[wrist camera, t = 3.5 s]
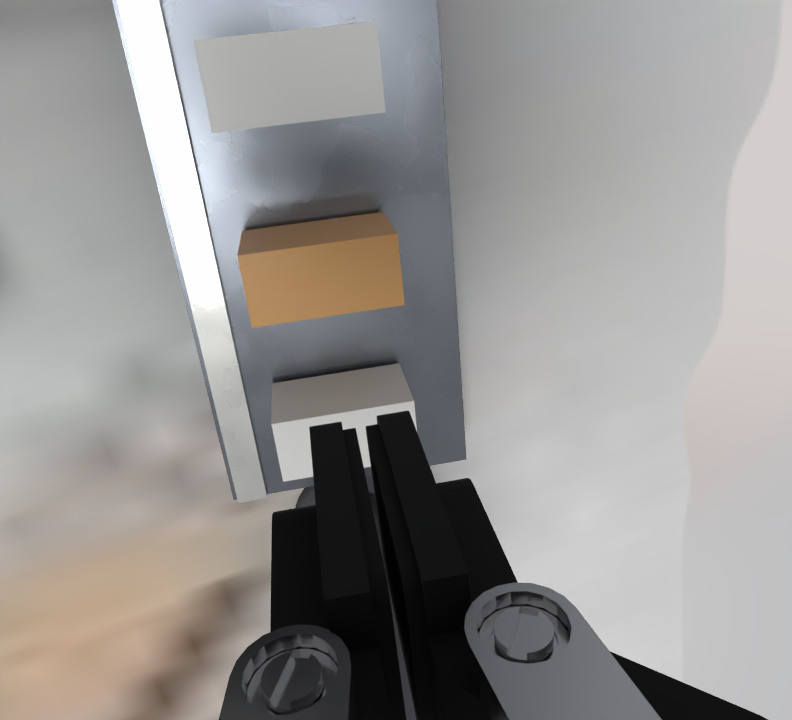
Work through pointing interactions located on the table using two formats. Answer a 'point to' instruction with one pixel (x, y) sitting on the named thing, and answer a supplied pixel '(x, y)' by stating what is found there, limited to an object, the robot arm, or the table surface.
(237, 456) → the breaker panel
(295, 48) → the paddle
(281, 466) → the white rectangular block
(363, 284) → the block
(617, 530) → the table surface
